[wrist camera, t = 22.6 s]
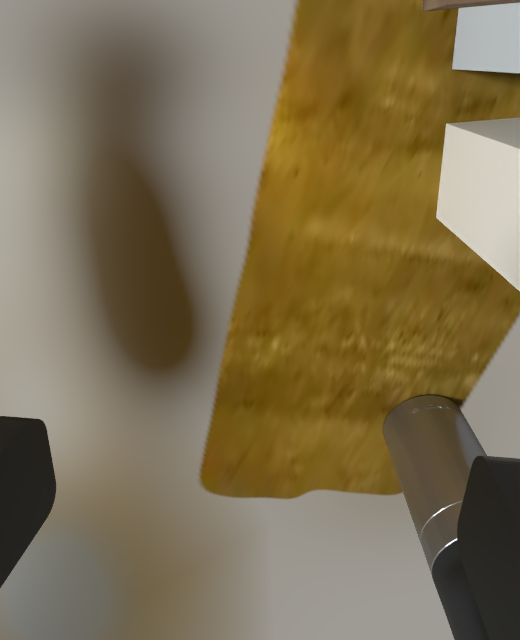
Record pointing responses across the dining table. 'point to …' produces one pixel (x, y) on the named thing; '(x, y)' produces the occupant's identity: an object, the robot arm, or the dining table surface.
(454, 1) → the mallet
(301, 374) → the dining table surface
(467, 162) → the tall pedestal
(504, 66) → the short pedestal
